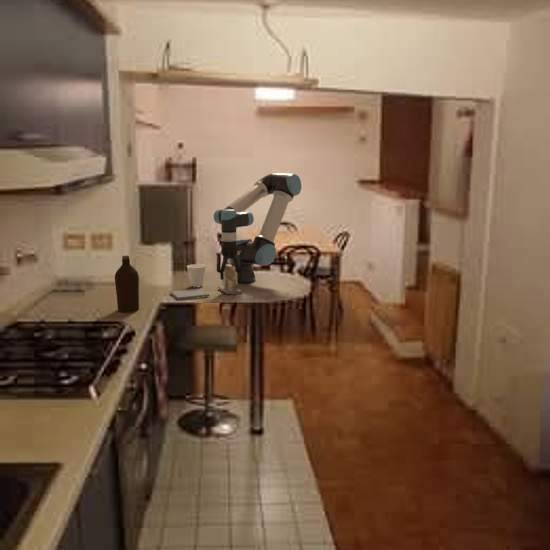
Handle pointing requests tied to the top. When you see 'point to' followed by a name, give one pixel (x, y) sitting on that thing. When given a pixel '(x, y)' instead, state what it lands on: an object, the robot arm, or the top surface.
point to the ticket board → (189, 294)
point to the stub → (230, 281)
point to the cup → (196, 274)
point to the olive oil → (127, 287)
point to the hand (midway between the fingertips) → (229, 285)
